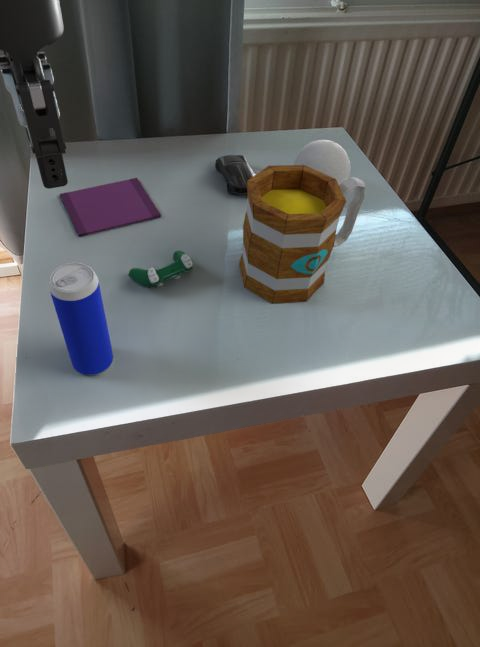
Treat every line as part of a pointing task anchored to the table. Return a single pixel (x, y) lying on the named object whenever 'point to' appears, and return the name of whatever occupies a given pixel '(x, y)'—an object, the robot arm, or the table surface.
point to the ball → (325, 159)
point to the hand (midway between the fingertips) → (47, 161)
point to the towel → (109, 206)
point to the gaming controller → (162, 271)
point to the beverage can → (81, 317)
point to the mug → (293, 230)
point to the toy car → (235, 172)
